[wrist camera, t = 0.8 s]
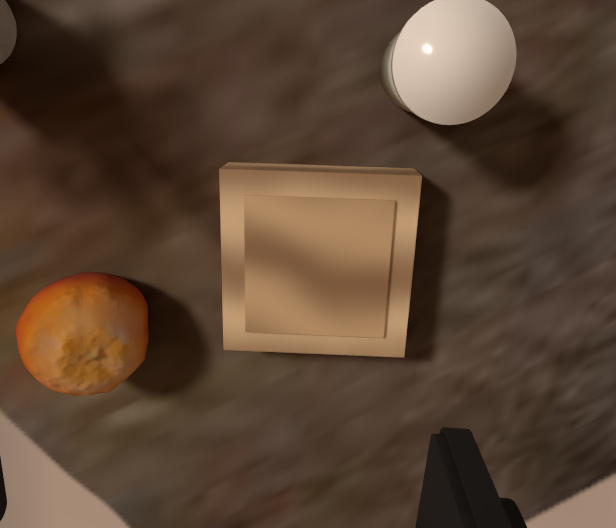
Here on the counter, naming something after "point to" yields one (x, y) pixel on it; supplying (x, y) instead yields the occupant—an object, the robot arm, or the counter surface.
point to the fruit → (84, 333)
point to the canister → (450, 61)
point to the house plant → (6, 31)
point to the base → (317, 257)
